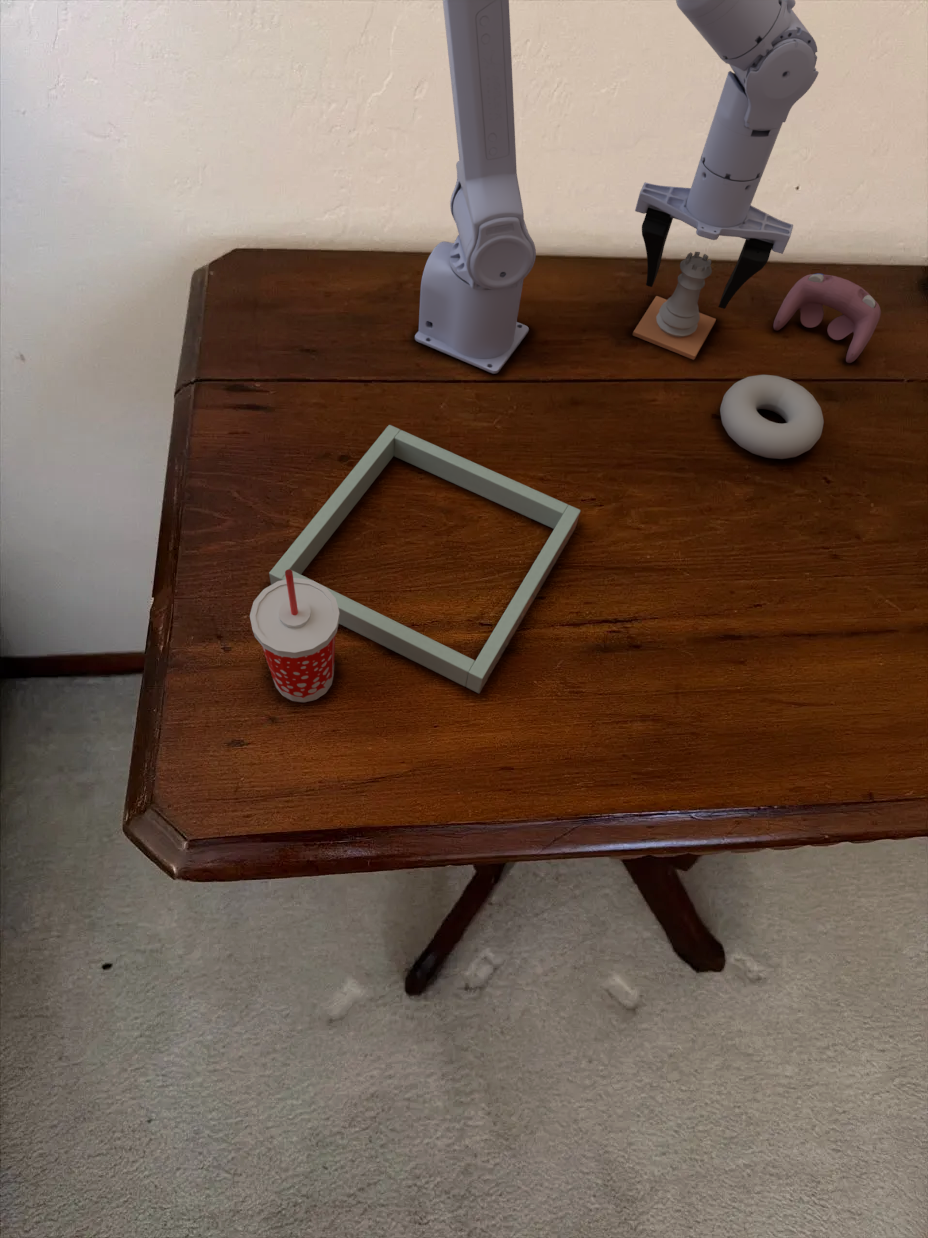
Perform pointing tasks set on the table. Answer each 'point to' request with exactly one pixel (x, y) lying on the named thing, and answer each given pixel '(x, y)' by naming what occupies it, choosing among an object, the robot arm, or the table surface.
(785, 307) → the video game controller
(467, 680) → the open square border
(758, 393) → the donut
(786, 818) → the table surface
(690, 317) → the rook chess piece
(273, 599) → the beverage cup
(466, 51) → the robot arm
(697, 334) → the mat
